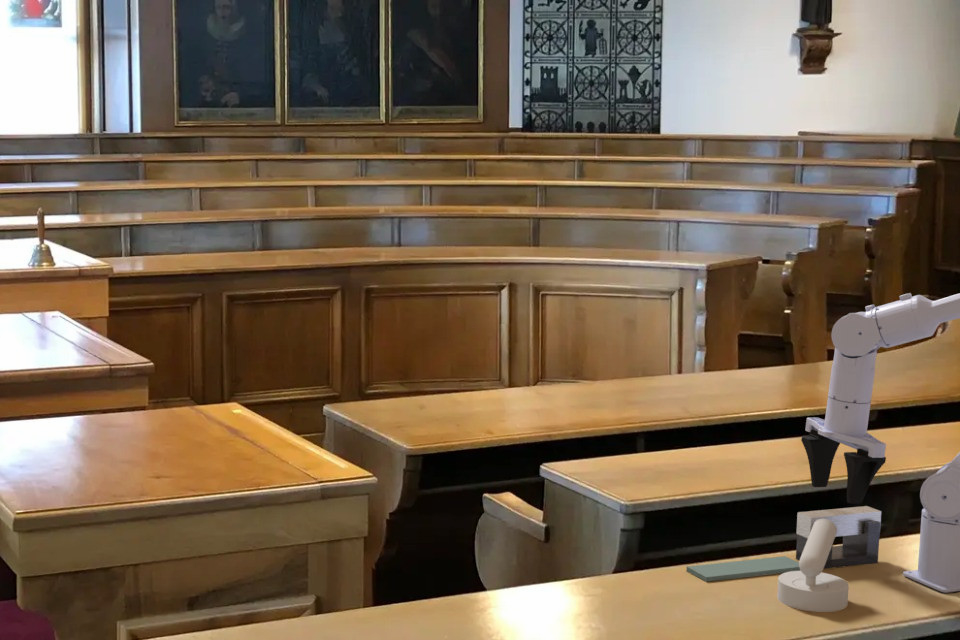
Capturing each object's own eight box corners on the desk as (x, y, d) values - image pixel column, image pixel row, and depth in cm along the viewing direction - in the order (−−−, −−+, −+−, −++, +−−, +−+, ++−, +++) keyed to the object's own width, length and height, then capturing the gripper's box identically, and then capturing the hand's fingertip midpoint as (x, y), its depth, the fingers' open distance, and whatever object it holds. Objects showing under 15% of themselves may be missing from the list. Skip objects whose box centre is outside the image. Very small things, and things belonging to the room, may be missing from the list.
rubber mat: (784, 560, 178) (785, 556, 178) (806, 570, 174) (806, 566, 174) (686, 570, 172) (686, 566, 172) (706, 581, 167) (706, 577, 167)
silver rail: (865, 526, 182) (867, 506, 181) (879, 532, 179) (881, 511, 179) (796, 533, 177) (797, 512, 177) (809, 539, 174) (811, 517, 174)
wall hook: (860, 521, 163) (844, 540, 154) (856, 594, 164) (839, 616, 155) (793, 512, 167) (773, 529, 158) (789, 582, 168) (769, 604, 159)
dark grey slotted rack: (853, 552, 183) (855, 512, 182) (877, 562, 178) (880, 522, 177) (795, 558, 179) (798, 518, 178) (819, 569, 174) (821, 528, 174)
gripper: (793, 387, 180) (781, 480, 182) (860, 411, 167) (847, 511, 169) (833, 387, 183) (821, 479, 185) (903, 411, 170) (889, 509, 172)
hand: (836, 494), depth 177 cm, fingers open, 7 cm apart
